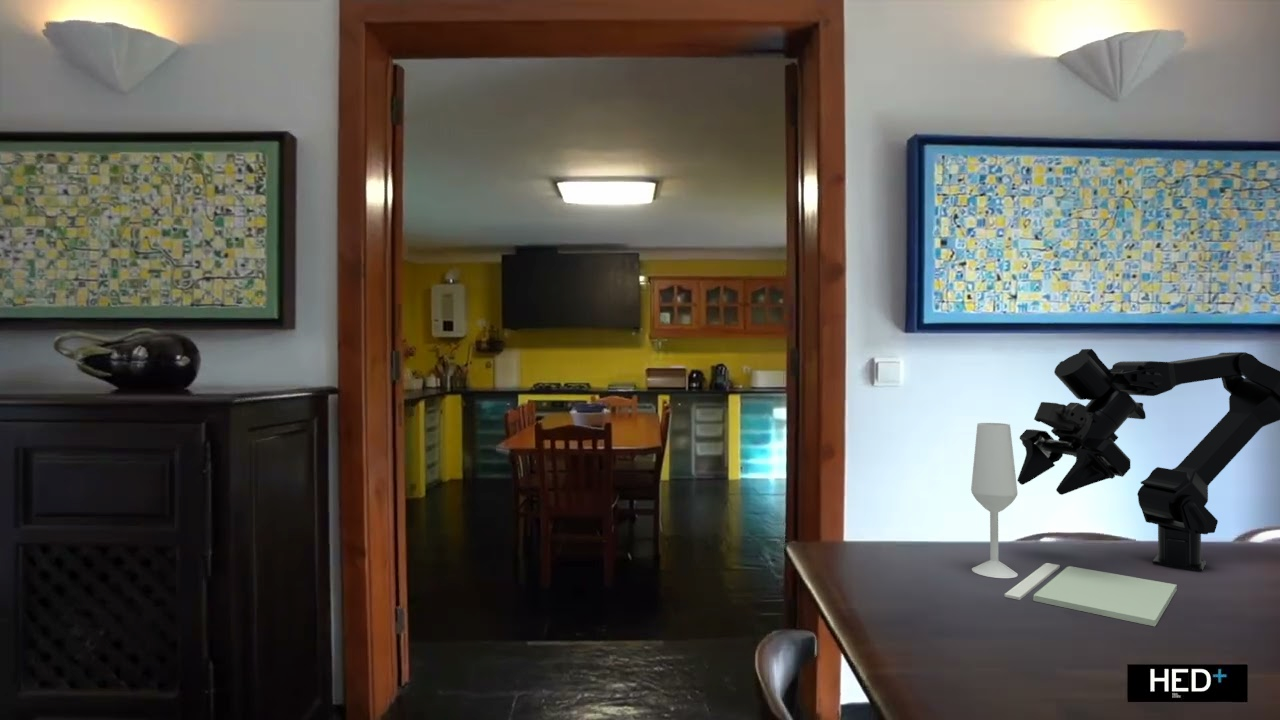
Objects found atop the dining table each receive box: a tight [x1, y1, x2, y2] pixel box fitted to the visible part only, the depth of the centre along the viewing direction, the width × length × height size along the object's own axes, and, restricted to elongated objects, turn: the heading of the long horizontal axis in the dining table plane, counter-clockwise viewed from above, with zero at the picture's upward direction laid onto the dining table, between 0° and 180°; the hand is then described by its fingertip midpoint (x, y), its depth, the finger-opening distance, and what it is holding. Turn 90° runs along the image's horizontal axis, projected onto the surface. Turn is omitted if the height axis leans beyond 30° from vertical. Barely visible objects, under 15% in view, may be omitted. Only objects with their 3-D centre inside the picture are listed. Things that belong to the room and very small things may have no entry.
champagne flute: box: [970, 422, 1019, 579], centre depth 112 cm, size 7×7×24 cm
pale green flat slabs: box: [1003, 562, 1178, 628], centre depth 102 cm, size 22×18×1 cm
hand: (1038, 487), depth 113 cm, fingers open, 9 cm apart
